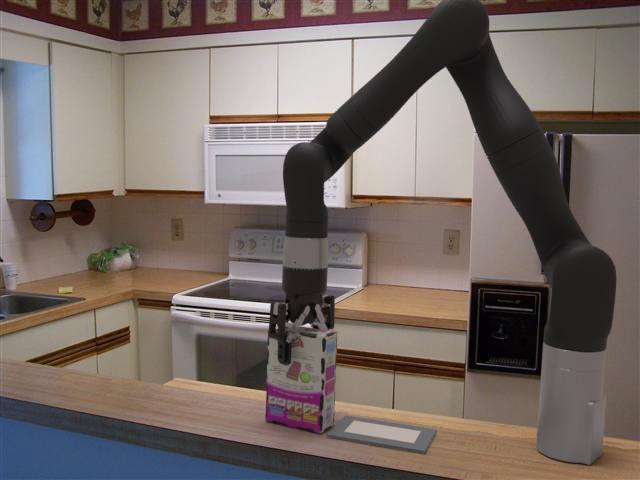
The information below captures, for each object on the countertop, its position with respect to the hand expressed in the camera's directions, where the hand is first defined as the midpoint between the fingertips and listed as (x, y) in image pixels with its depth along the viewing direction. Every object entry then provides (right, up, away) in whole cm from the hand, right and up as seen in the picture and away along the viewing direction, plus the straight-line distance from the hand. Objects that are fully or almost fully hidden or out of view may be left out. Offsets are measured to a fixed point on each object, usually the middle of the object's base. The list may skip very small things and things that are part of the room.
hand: (301, 359), depth 114 cm
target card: (+13, -12, -3) cm, 18 cm away
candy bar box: (0, -11, +1) cm, 11 cm away
